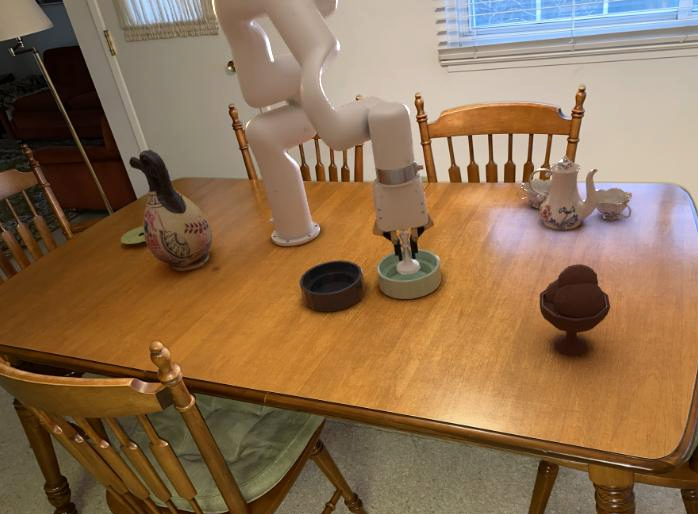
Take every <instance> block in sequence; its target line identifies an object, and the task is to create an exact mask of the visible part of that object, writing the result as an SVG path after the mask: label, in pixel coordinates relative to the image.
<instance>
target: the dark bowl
mask: <svg viewBox="0 0 698 514" xmlns="http://www.w3.org/2000/svg"><path fill="white" fill-rule="evenodd" d="M362 269H363V268H362V267H361V266H360V265H359V264H357V263H354V262H352V261H350V260H330V261H326V262H321V263H319V264H317V265H314V266H312V267H311V268H309V269H307V270H306V271H305V272H304V273H303V274H302V275H301V276H300V279H299V287H300V292H301V295H302V299H303V302H304V304H305V305H306V306H307V308H309V309H311V310H313V311H317V312H337V311H340V310H344V309H347V308H349V307H352V306H354V305H355V304H356V303H358V302H359V301H360V300H361V299H362V298H363V296H364V295H365V293H366V284H365V278H364V272H363V270H362Z"/></svg>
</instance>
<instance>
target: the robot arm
mask: <svg viewBox="0 0 698 514" xmlns="http://www.w3.org/2000/svg"><path fill="white" fill-rule="evenodd" d="M211 2H212V7H213V12H214V15H215V18H216V20H217V22H218V25H219V27H220V29H221V31H222V33H223V34H224V36H225V39H226V41H227V43H228V47H229V50H230V53H231V59H232V62H233V66H234V70H235V73H236V78H237V80H238V84H239V89H240V92H241V95H242V97H243V100H244V102H245V103H246V104H247V106H249V107H251V108H253V109H262V108H266V107H270V106H273V105H276V104H279V103H282V102H284V101H285V104H284V105H282V106H279V107H275V108H273V109H270V110H267V111H264V112H262V113H259V114H256V115H255V116H253V117H252V118H251V119H249V120H248V122H247V123H246V125H245V129H244V135H245V139H246V141H247V144H248V146H249V148H250V150H251V152H252V154H253V156H254V159H255V162H256V164H257V167H258V171H259V173H260V174H259V175H260V178H261V180H262V184H263V188H264V191H265V195H266V198H267V202H268V206H269V209H270V214H271V218H270V219H269V220H268V222H269V223H270V224H272V225H273V227H274V230H273V232H272V233H271V240H272V242H273V243H274V244H275V245H278V246H280V247H294V246H299V245H300V246H301V245H303V244H307V243H309V242H311V241H313V240H315V238H316V237H318V236H319V234H320V232H321V229H320V225H319V224H318V222H315V221H313V220H312V219H313V218H312V215H311V211H310V207H309V202H308V198H307V193H306V189H305V185H304V180H303V176H302V172H301V169H300V165H299V164H298V162H297V161H296V160H295V159H294V158H293V157H291V156H290V155H289V154H288V150H290V149H292V148H294V147H297V146H300V145H302V144H305V143H306V142H309V141H311V140H312V139H313V138H314V137H315V136H316V135H318V137H319V138H320V139H321V141H322V142H323V143H324V144H325V145H326V146H327V147H328V148H329V149H331V150H333V151H335V152H344V151H347V150H350V149H352V148H354V147H357V146H359V145H361V144H364V143H367V142H369V141H370V143H371V150H372V155H373V162H374V169H375V177H376V178H374V180H373V182H372V185H373V186H372V194H373V195H372V196H373V203H374V204H373V207H374V214H375V220H374V224H373V227H372V234H373V235H375V236H379V237H383V238H385V239H386V240H387V241H389V242H390V243H391V244H392V245H393V249H394V251H393V252H395V256H399V261H402V260H403V259H402V252H401V250H402V247H401V238H400V236H399V235H398V234H397V231H399V230H402V229H408V230H409V229H410V232H411V233H409V237H408V240H409V242H410V246H409V247H410V249H411V254H412V259H416V257H415V253H418V249H419V247H418V245H419V244H418V241H419V238H420V237H421V236H422V235H423V234H424V232H425V231H427V230H429V229H431V228H432V227H434V226H435V222H434V219H433V218H432V216H431V214H430V213H429V212H428V206H427V199H426V193H425V188H424V184H423V179H422V177H421V174H420V173H419V172H420V171H423V170H424V163H423V162H419V161H418V162H417V161H416V160H415V150H414V141H413V132H412V124H411V123H412V121H411V115H410V110H409V107H408V106H407V105H406V104H404V103H403V102H398V101H397V102H396V101H386V100H384V99H382V98H380V97H377V96H373V95H372V96H371V95H370V96H365V97H361V98H359V99H357V100H355V101H351V102H348V103H345V104H343V105H340V106H338V107H334V106H333V104H331V102H330V100H329V98H327V96H326V94H325V92H324V89H323V87H322V82H321V80H322V79H321V77H322V75H323V73H324V72H325V71H326V70H327V69H329V67H331V66H332V64H333V63H334V61H335V60H336V59H337V57H338V55H339V53H340V48H341V47H340V42H339V40H338V39H337V37H336V36H335V34H334V32H333V31H332V29H331V28H330V27H329V25H328V24H327V22H326V20H327V19H329V18H331V17H332V16H333V15H334V14H335V13H336V11H337V8H338V0H212V1H211ZM265 18H268V19H269V20H270V21H271V23H272V25H273V27H274V28H275V29H276V31H277V33H278V34H279V36H280V38H281V39H282V40H283V42H284V44H285V45H286V46H287V48H288V50H289V51H290V53H280V54H277V55H273V52H272V48H271V43H270V40H269V37H268V35H267V33H266V31H265V29H263V27H262V26H261V25H260V24H259V23H258V22H257V21H256V20H259V19H265Z"/></svg>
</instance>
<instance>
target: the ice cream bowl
mask: <svg viewBox="0 0 698 514" xmlns="http://www.w3.org/2000/svg"><path fill="white" fill-rule="evenodd" d="M539 309H540V313H541V315H542V317H543V319H544V320H546V321H547V322H548V323H549V324H551V326H553V327H554V328H555V329H557V330H559V331H561V332H565V334H560V335H559V336H558V337H557V338H555V339H554V342H553V345H554V349H555V350H556V352H558V353H559V354H560V355H563V356H568V357H576V356H583V354H584V353H586V352H587V351H588V343H587V340H586V339H584V338H583V336H581V335H578V333H583V332H588V331H591V330H593V329H595V327H597V326H598V325H599V324H600V323H601V322H603V321H604V320H605V318H606V317H607V316H608V314H609V312H610V309H611V303H610V297H609V294H608V293H606V292H605V291H603V290H602V288H601V287H600V286H599V279H598V274H597V272H596V271H595V270H594V268H592V267H590V266H589V265H585V264H581V263H578V264H577V263H576V264H571V265H569V266H567V267H566V268H564V269H563V270H562V271H561V272H560V273H559V274H558V276H557V279H554V280H553V281H552V282H550V283H549V284H548V286H547V287H546V289H544V290H543V291H541V292H540V293H539Z"/></svg>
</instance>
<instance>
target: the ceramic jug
mask: <svg viewBox="0 0 698 514" xmlns="http://www.w3.org/2000/svg"><path fill="white" fill-rule="evenodd" d="M138 157H139V158H137V157H136V156H131V157H129V162H128V163H129V165H130V167H131V169H135V170H137V171H141V172H142V173H143V175H144V176H145V178H146V181H147V184H148V195H147V199H146V202H145V208H144V213H143V219H142V220H143V221H142V226H143V228H144V237H145V240H146V241H145V244H146V245H147V248H148V250H149V251H150V253H151V254H152V255H153V256H154V258H155V259H156V260H158V261H160V262H162V263H164V264H166V265H168V266H170V267H171V268H173V269H174V270H175V271H178V272H183V271H190V270H194V269H198V268H200V267H202V266H204V264H205V263H207V261H209V258H210V253H209V250H210V248H211V245H212V243H213V231H212V227H211V225H210V222H209V221H208V218H207V217H206V216H205V214H204V212H203V211H202V210H201V209H200V207H199V206H198V205H196V204H195V202H193V201H192V200H191V199H189V198H188V197H187V196H185V195H184V194H183V193H180V192H179V191H178V190H177V189H175V188H174V187H173V184H172V181H171V176H170V174H169V171H168V168H167V166H166V163H165V162H164V160H163V158H162V156H161V155H159V154H158V153H157V152H155V151H153V150H152V149H145V150H143V151H141V152H140V153H139V156H138Z"/></svg>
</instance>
